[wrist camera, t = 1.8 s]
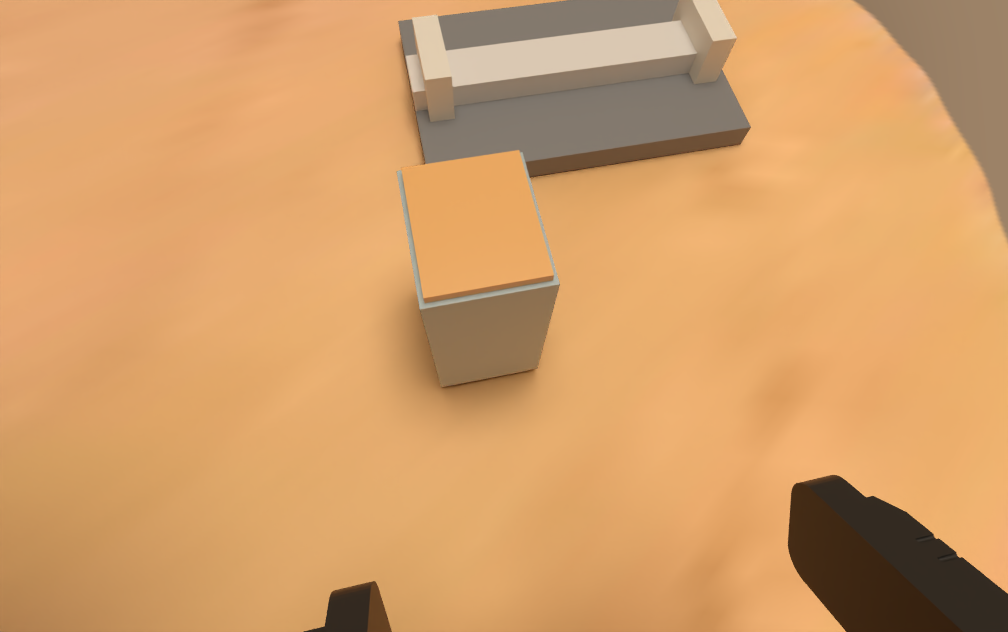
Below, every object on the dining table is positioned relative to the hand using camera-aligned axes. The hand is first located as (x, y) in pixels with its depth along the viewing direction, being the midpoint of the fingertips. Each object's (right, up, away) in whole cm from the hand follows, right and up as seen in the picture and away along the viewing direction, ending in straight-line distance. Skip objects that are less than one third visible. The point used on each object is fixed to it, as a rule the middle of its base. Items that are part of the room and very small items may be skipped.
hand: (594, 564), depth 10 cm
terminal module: (-3, +4, +19) cm, 20 cm away
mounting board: (+2, +20, +26) cm, 33 cm away
